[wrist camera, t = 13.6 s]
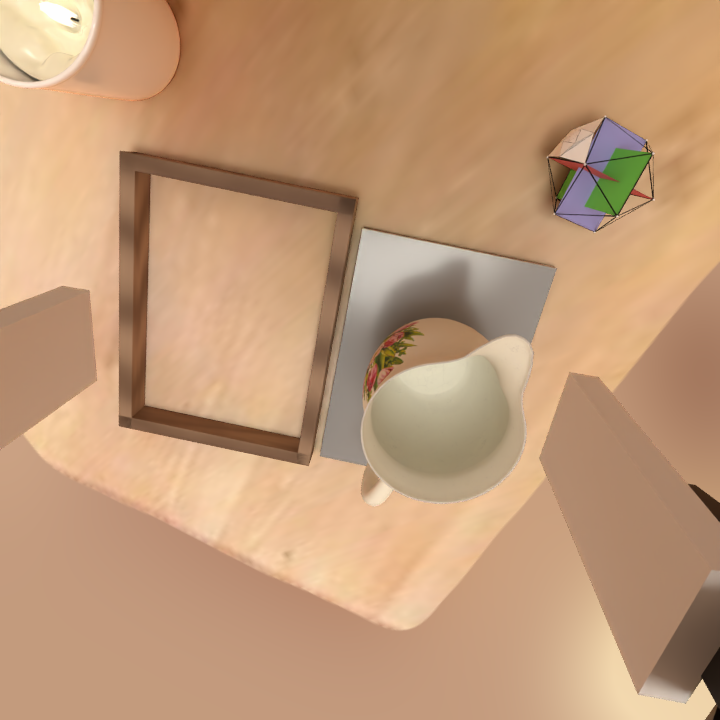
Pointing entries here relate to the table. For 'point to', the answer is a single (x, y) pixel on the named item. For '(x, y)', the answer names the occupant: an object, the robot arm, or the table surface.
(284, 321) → the table surface
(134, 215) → the frame
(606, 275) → the table surface
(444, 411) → the pitcher
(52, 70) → the candle holder
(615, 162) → the geometric puzzle
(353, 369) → the slate board
